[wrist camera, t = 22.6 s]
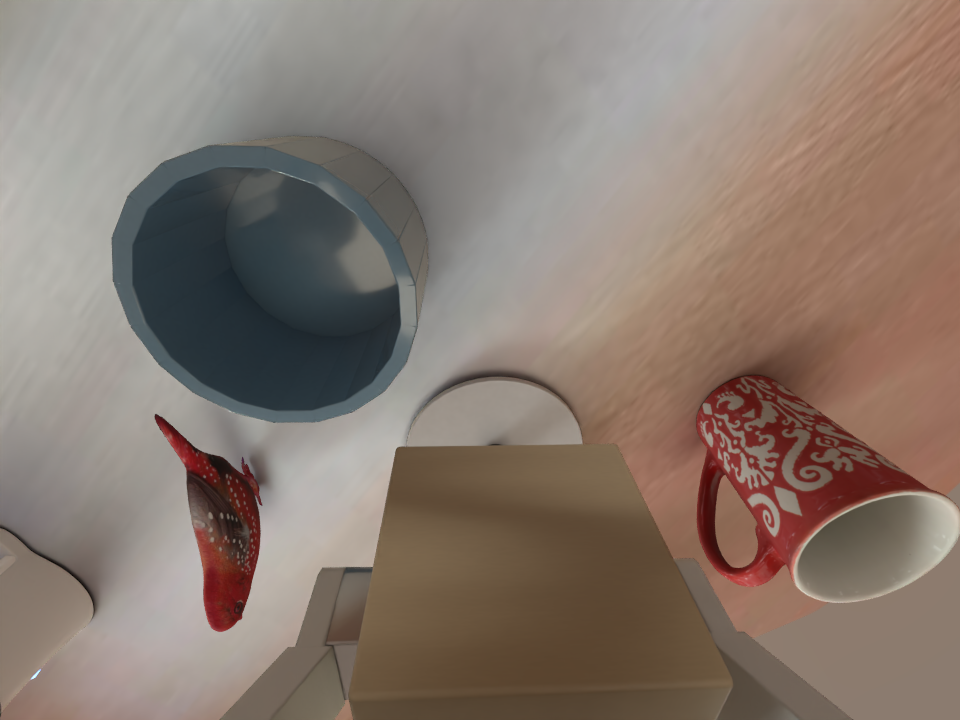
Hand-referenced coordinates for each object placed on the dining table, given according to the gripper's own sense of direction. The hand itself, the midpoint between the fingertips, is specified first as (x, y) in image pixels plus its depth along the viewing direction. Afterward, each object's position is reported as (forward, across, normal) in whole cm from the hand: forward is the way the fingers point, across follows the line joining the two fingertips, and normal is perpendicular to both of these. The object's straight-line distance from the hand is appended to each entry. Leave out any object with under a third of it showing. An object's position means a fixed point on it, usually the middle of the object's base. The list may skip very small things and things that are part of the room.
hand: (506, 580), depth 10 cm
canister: (+23, +10, -2) cm, 25 cm away
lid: (+22, -2, +15) cm, 27 cm away
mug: (+23, -20, +13) cm, 33 cm away
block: (+2, 0, 0) cm, 2 cm away
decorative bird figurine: (+23, +18, +16) cm, 33 cm away
